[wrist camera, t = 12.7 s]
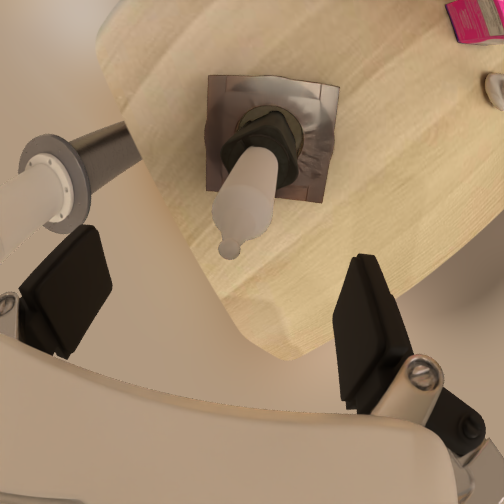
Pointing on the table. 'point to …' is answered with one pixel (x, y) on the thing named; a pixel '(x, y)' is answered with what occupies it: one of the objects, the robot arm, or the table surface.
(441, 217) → the table surface
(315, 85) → the hole plate
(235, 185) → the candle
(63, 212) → the robot arm
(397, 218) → the table surface
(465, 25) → the supplement box
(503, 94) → the white animal figurine
